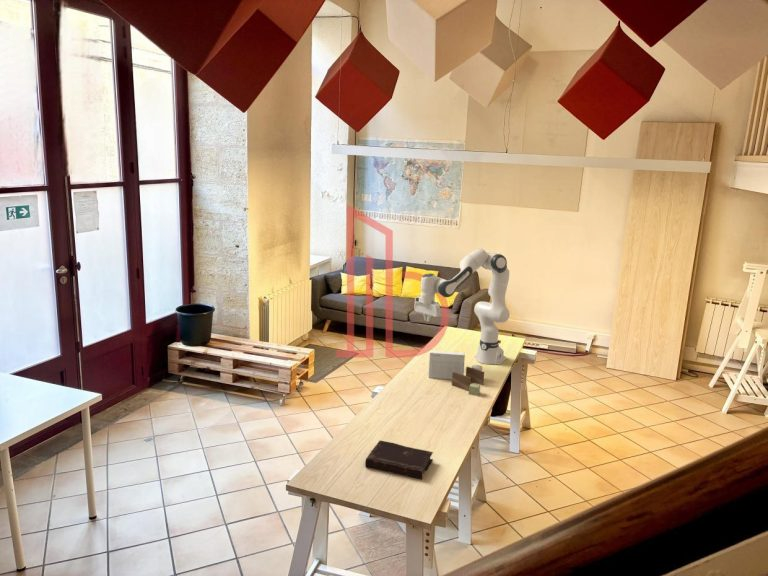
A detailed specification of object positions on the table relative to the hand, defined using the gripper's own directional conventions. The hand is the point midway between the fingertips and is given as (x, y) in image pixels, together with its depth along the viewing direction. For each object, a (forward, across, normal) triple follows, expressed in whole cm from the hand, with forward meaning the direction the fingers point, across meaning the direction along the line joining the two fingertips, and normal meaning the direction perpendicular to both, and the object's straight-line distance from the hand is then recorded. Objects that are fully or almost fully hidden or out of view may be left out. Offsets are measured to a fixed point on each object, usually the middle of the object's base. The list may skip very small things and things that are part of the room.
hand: (427, 321), depth 377 cm
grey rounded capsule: (+31, -35, -8) cm, 47 cm away
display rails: (+30, -38, +3) cm, 49 cm away
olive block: (+31, -49, +10) cm, 59 cm away
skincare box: (+30, -22, +5) cm, 38 cm away
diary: (+31, -83, +97) cm, 132 cm away
